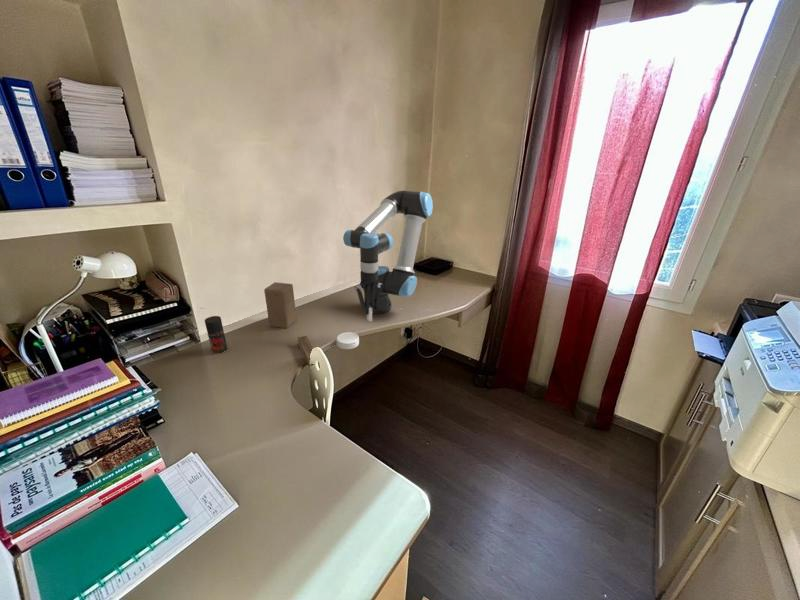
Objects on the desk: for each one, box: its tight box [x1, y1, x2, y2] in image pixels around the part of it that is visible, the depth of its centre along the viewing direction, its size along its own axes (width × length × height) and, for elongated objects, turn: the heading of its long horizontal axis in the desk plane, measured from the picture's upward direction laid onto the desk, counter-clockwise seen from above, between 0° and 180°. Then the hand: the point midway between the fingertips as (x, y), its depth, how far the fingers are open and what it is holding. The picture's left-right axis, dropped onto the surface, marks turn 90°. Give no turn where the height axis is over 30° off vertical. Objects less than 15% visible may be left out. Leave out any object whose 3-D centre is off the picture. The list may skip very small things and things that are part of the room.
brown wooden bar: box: [297, 335, 314, 366], centre depth 143 cm, size 4×18×4 cm, turn 28°
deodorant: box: [204, 315, 228, 354], centre depth 141 cm, size 6×6×15 cm
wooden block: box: [263, 282, 297, 329], centre depth 163 cm, size 10×10×20 cm
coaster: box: [335, 331, 360, 350], centre depth 151 cm, size 10×10×4 cm
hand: (369, 319), depth 152 cm, fingers closed
